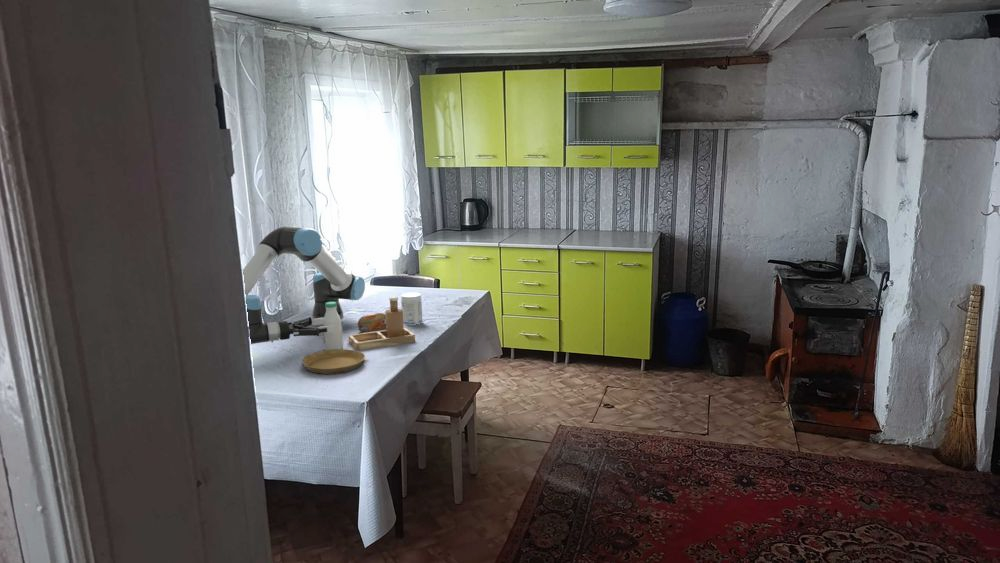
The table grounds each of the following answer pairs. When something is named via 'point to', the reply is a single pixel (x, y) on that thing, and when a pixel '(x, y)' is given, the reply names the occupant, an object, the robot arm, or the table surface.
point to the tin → (372, 322)
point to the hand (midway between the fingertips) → (331, 324)
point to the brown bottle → (394, 319)
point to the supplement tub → (411, 308)
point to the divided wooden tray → (379, 339)
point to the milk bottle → (335, 338)
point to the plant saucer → (333, 361)
